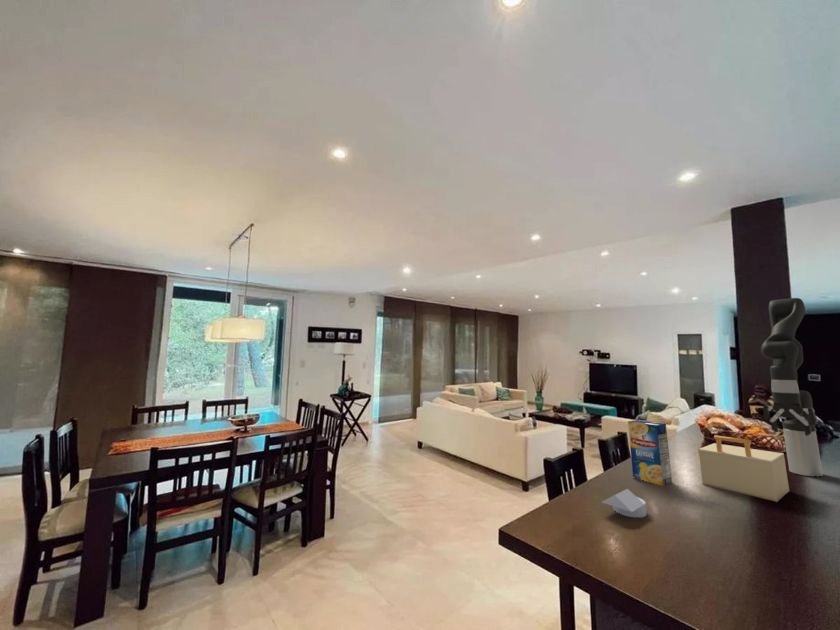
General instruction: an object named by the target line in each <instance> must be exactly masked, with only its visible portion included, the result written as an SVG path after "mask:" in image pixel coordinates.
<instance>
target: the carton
mask: <svg viewBox="0 0 840 630" xmlns="http://www.w3.org/2000/svg"><path fill="white" fill-rule="evenodd" d="M698 455H699V457H698V458H699V464H700V465H699V466H700V472H701V480H702V481H701V482H702V485H703V486H708V487H713V488H716V489H719V490H720V489H721V490H725V491H728V492H734V493H739V494H742V495H747V496H751V497H755V498H759V499H764V500H767V501H772V502H776V503H778V502H779V501H780V500H781V499H782V498H783V497H784V496H785V495H787V494H788V493H789V492H790V487H789V486H790V485H789V480H788V473H787V466H786V465H787V464H786V459H785V455H784V456H783V457H781V458H780V459H778V460H777V461H775V462H773V463H772V464H771V463H765V462H759V461H753V460H747V459H741V458H736V457H730V456H724V455H718V454H712V453H706V452H700V451H699V450H698Z"/></svg>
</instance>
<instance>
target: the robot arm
mask: <svg viewBox="0 0 840 630" xmlns="http://www.w3.org/2000/svg"><path fill="white" fill-rule="evenodd" d="M805 314H806V307H805V303H804V301H803V299H801V298H800V297H799V298H798V297H790V298H781V299H773V300H770V301H769V304H768V315H769V322H770V327H771V330H770V331H771V332H770V336H768V337H767V339H766V340H764V342H763V343H762V344H761V347H760V352H761V355H762V357H764V358H766V359H769V360H772V363H773V365H771V366H770V367H769V373H770V379H771V382H770V383H771V388H770V389H771V394H772V401H773V405H769V404H764V405H762V406H763V408H762V409H763V419H764V420H765V421H768V422H770V425H771V427H770V428H771V430H772V431H773V432H774V433H779V429H778V428H779V427H778V422H777V421H778V420H779V418H781V417H782V418H785V419H786V418H790V419H788V420H784V421H782V430H783V436H784V444H785V451H786V457H787V463H788V470H789V472H791V473H792V474H798V475H801V476H807V477H814V476H817V477H819V476H821V477H823V476H824V475H823V474H824V473H823V468H822V462H821V456H820V455H821V454H820V449H819V443H818V442H819V441H818V435H817V430H816V425H817V424H818V421H817V416H816V412H815V409H814V407H813V398H812V395H811V393H810V392H809V391H808V390H800V389H799V385H798V382H797V375H796V372H797V370H798V369H799V368H800V367H801V366H802V364H803V362H804V351H803V346H802V343H800V341H799V340H797V339H796V337H795V336H796V332H797V329H798V328H799V326H800V324H801V322H802V320H803V318H804V317H805ZM772 409H773V411H775V414H774V415H773V416H772V417H770V411H772ZM817 477H816V478H817ZM819 478H820V477H819Z"/></svg>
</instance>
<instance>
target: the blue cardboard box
mask: <svg viewBox="0 0 840 630" xmlns="http://www.w3.org/2000/svg"><path fill="white" fill-rule="evenodd" d="M627 424H628V434H629V435H628V436H629V444H630V445H629V446H630V447H629V448H630V456H631V458H630V459H631V469H632V478H633V477H635V478H637V479H636V480H638V479H641V480H640V481H642V480H644V481H643V482H646V481H647V483H649V482H651V483H650V484H653V483H654V485H657V484H658V485H657V486H660V485H661V487H664V485H665V486H667V485H670V484H672V483H673V480H672V479H673V478H672V468H671V459H670V450H669V442H668V431H667V423H665V422H657V421H651V420H650V421H649V420H642V419H634V420H628V421H627ZM635 478H634V479H635Z"/></svg>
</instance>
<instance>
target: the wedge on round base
mask: <svg viewBox="0 0 840 630" xmlns="http://www.w3.org/2000/svg"><path fill="white" fill-rule="evenodd" d="M601 503H602V504H606V505H609V506H612V508H613V511H614V510H615V511H616V513H617V514H619V513H620V515H621V514H622V516H625V517H630V518H637V517H638V518H645V517H646V516H647V505H646V504H647V503H646V501H645V500H644V499H642V498H640V497H638V496H636V495H635V494H634V493H633V492H632V491H631V490H629V488H626V489H623V490H621V492H618V493H615V494H614V495H612V496H610V497H609V498H606V499H605V500H602V501H601ZM615 511H614V512H615Z"/></svg>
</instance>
